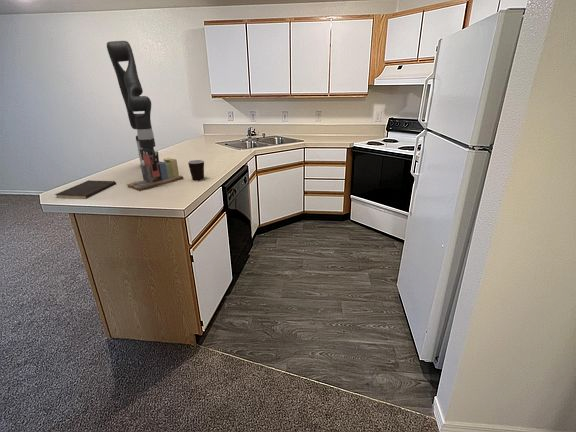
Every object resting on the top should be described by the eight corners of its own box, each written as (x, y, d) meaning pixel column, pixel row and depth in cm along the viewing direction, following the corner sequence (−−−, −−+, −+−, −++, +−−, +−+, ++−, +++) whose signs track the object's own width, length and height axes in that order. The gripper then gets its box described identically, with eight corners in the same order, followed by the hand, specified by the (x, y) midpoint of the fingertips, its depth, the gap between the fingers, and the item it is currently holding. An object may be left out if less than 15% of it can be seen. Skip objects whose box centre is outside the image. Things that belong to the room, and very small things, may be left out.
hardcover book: (56, 198, 148) (54, 194, 147) (89, 184, 169) (88, 180, 168) (86, 200, 146) (85, 195, 145) (116, 185, 167) (115, 181, 166)
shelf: (127, 186, 162) (123, 166, 158) (170, 175, 181) (167, 157, 177) (139, 191, 156) (135, 170, 151) (183, 179, 175) (180, 160, 170)
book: (146, 176, 166) (142, 153, 162) (153, 174, 169) (149, 152, 164) (152, 177, 163) (148, 155, 158) (159, 176, 166) (155, 154, 161)
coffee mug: (201, 181, 170) (199, 163, 166) (187, 180, 172) (185, 163, 168) (210, 175, 181) (208, 159, 177) (197, 175, 182) (195, 158, 178)
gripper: (131, 137, 159) (138, 169, 166) (146, 140, 151) (153, 173, 158) (145, 135, 165) (151, 166, 171) (160, 138, 157) (166, 170, 163)
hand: (152, 169), depth 165 cm, fingers closed on book, 6 cm apart
